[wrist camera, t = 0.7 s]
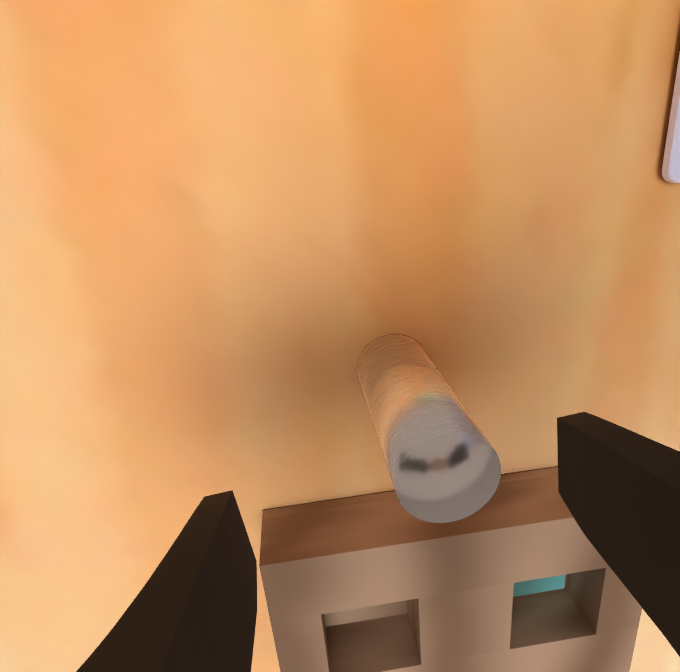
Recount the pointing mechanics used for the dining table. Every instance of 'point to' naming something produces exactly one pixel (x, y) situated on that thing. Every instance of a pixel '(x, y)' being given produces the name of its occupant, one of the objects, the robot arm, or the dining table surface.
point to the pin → (425, 433)
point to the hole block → (444, 587)
